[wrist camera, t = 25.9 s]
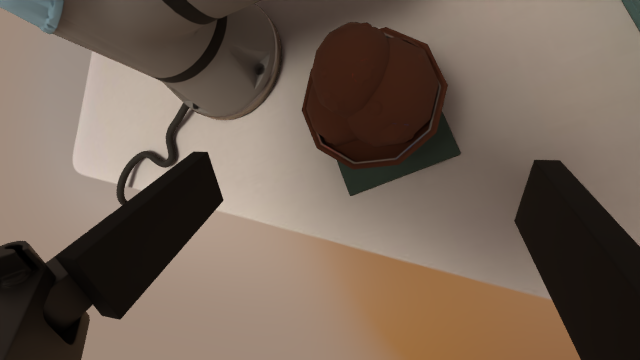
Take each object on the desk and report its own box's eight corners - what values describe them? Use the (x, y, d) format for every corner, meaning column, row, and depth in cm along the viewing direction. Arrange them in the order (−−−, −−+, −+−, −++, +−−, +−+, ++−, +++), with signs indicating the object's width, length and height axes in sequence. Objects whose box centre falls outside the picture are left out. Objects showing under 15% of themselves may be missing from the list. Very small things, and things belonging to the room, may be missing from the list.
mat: (351, 195, 33) (350, 196, 32) (315, 100, 34) (313, 99, 34) (460, 154, 29) (461, 153, 29) (414, 52, 31) (414, 49, 31)
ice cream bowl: (324, 166, 33) (257, 145, 19) (346, 69, 33) (295, -26, 19) (420, 187, 30) (427, 182, 16) (445, 81, 30) (477, -25, 15)
